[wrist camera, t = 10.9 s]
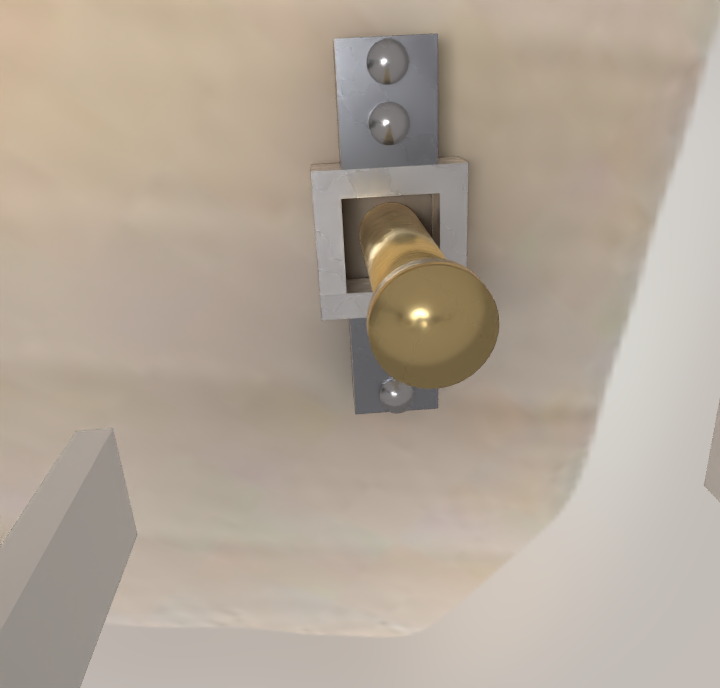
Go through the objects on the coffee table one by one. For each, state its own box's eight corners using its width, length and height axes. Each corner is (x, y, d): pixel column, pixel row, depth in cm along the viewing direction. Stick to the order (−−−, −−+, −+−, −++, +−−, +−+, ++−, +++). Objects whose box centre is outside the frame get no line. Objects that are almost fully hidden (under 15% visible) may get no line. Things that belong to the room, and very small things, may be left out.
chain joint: (455, 386, 37) (465, 409, 34) (328, 395, 37) (329, 419, 34) (459, 34, 30) (472, 31, 27) (302, 42, 30) (300, 39, 27)
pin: (351, 276, 34) (371, 393, 22) (346, 194, 32) (365, 270, 20) (431, 270, 34) (497, 384, 22) (430, 189, 33) (501, 261, 20)
